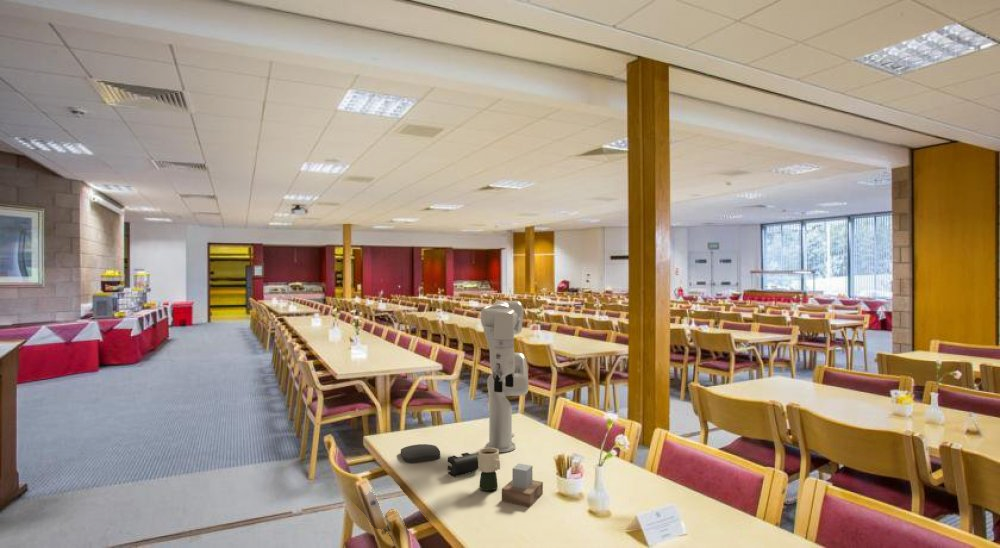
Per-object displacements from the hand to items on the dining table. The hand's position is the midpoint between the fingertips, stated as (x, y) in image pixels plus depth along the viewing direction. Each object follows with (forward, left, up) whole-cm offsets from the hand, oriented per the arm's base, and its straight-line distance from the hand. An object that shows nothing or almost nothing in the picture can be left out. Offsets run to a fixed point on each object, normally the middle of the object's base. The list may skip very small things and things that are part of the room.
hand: (503, 389), depth 198 cm
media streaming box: (+1, -37, -31) cm, 48 cm away
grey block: (+19, +16, -26) cm, 36 cm away
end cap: (+10, -12, -31) cm, 34 cm away
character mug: (+18, +3, -31) cm, 36 cm away
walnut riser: (+19, +16, -30) cm, 39 cm away
